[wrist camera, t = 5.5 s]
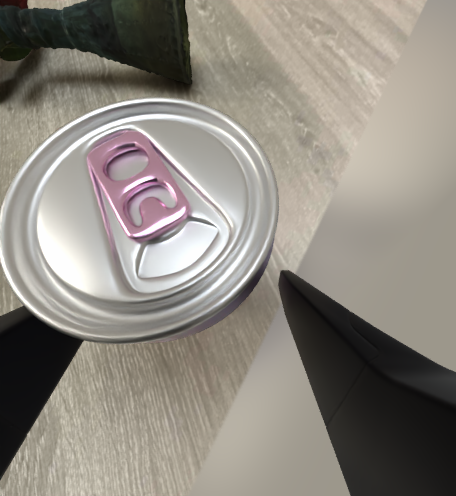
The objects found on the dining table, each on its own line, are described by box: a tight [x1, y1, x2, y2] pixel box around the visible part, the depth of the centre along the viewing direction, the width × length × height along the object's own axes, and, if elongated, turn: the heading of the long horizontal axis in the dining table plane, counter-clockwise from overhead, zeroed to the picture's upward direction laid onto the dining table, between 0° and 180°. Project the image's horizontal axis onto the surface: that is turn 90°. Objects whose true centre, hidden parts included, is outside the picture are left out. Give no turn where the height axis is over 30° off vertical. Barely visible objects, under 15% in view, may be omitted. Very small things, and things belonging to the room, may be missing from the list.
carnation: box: [0, 0, 192, 84], centre depth 22 cm, size 16×18×35 cm
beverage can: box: [0, 97, 279, 345], centre depth 11 cm, size 6×6×15 cm
